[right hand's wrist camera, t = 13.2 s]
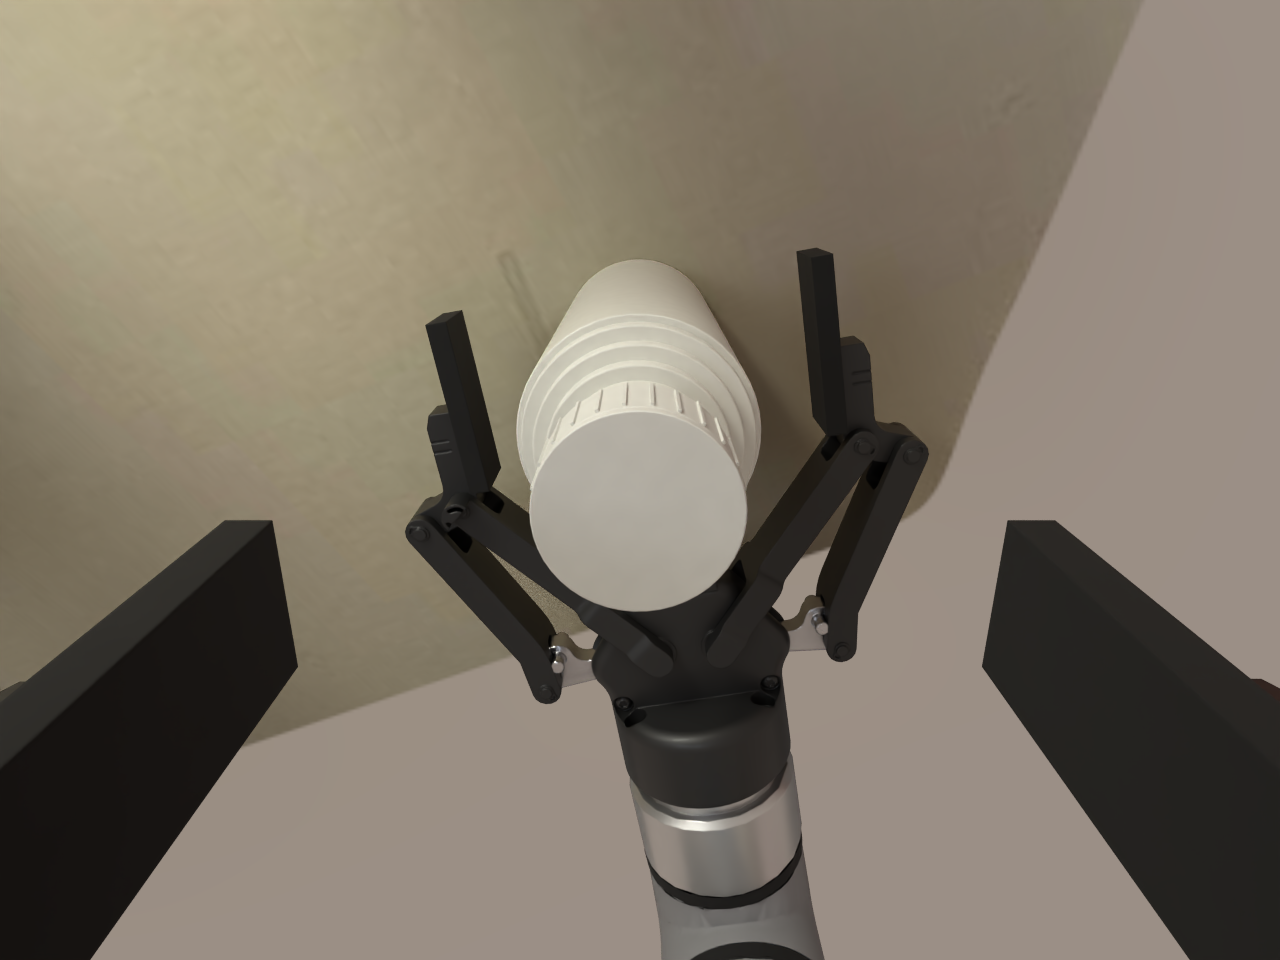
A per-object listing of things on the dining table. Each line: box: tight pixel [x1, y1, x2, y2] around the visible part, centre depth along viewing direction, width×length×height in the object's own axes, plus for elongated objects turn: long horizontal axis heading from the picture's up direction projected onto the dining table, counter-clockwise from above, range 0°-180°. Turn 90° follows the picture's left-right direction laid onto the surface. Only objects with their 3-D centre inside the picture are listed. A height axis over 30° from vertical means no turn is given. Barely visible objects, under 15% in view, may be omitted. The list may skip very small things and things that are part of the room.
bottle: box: [516, 259, 761, 486], centre depth 26 cm, size 7×7×20 cm
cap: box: [529, 383, 747, 612], centre depth 17 cm, size 5×5×2 cm
